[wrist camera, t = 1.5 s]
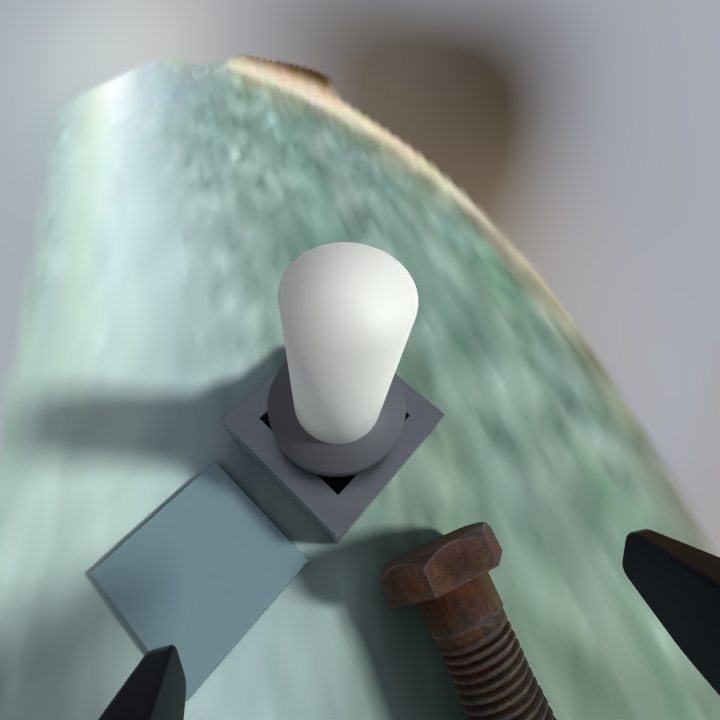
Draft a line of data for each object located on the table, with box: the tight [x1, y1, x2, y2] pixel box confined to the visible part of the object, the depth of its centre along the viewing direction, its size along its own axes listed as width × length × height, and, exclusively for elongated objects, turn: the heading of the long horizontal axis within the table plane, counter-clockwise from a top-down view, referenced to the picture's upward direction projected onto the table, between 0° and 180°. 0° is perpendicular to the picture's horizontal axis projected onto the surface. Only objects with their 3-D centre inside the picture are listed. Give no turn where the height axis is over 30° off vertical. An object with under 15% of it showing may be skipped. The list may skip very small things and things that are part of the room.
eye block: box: [221, 369, 445, 543], centre depth 21 cm, size 8×8×3 cm
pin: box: [267, 242, 418, 477], centre depth 17 cm, size 6×6×13 cm
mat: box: [91, 462, 308, 702], centre depth 19 cm, size 7×7×1 cm
